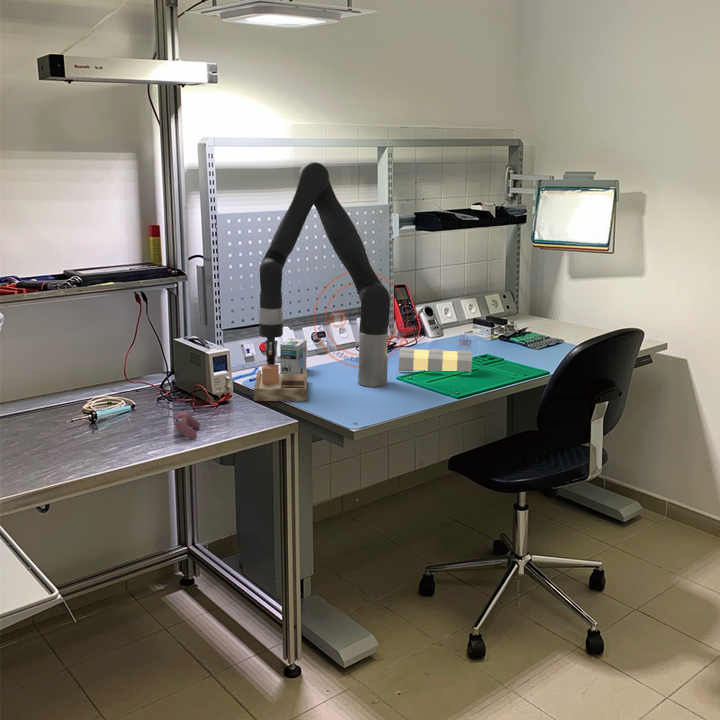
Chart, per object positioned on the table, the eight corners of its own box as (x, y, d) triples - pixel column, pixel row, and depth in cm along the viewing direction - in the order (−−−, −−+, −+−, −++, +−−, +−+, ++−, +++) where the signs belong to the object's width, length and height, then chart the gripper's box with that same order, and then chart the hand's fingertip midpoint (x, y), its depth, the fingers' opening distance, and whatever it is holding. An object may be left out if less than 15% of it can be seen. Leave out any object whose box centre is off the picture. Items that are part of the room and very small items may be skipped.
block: (278, 379, 259) (278, 364, 257) (278, 383, 254) (278, 368, 253) (262, 379, 258) (262, 364, 257) (262, 383, 253) (262, 368, 252)
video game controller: (186, 433, 219) (174, 411, 217) (201, 425, 219) (189, 403, 217) (182, 445, 210) (169, 422, 208) (198, 438, 210) (185, 415, 208)
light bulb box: (298, 376, 272) (298, 345, 270) (279, 375, 273) (279, 344, 271) (307, 369, 282) (307, 339, 280) (288, 367, 284) (288, 337, 281)
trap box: (306, 381, 267) (306, 370, 266) (306, 400, 245) (307, 389, 244) (257, 381, 265) (257, 370, 265) (253, 400, 244) (253, 389, 243)
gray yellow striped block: (470, 370, 287) (472, 334, 284) (471, 377, 277) (473, 340, 274) (400, 366, 290) (401, 331, 287) (398, 373, 280) (399, 337, 277)
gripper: (282, 325, 251) (282, 379, 255) (283, 317, 264) (283, 368, 268) (257, 325, 251) (258, 379, 255) (260, 317, 264) (260, 368, 268)
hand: (271, 373), depth 262 cm, fingers closed
